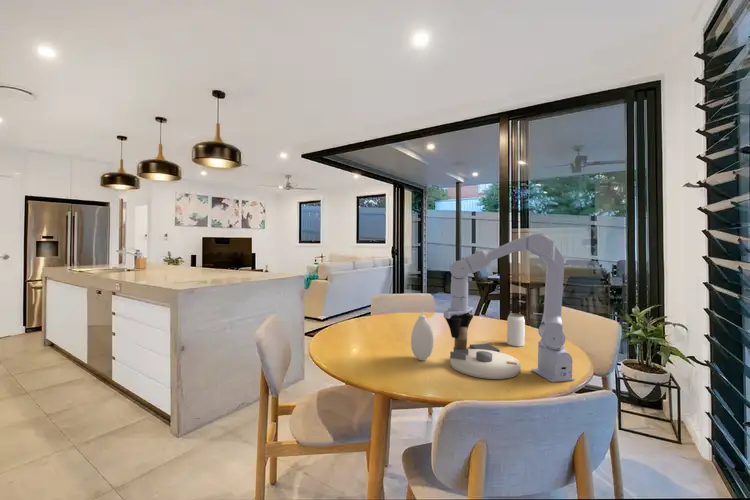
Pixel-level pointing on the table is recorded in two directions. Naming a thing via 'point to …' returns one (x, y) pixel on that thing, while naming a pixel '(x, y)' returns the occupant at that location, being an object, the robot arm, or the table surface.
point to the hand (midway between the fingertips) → (458, 336)
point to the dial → (484, 363)
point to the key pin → (461, 339)
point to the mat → (484, 347)
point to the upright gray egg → (422, 338)
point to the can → (516, 330)
